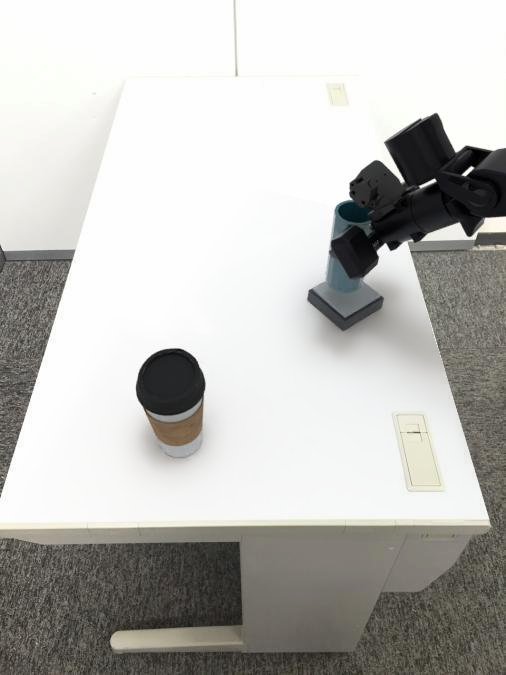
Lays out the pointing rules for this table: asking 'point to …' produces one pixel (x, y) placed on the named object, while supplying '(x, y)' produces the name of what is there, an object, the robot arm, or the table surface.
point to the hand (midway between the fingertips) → (342, 243)
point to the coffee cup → (173, 399)
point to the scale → (345, 304)
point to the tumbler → (343, 217)
